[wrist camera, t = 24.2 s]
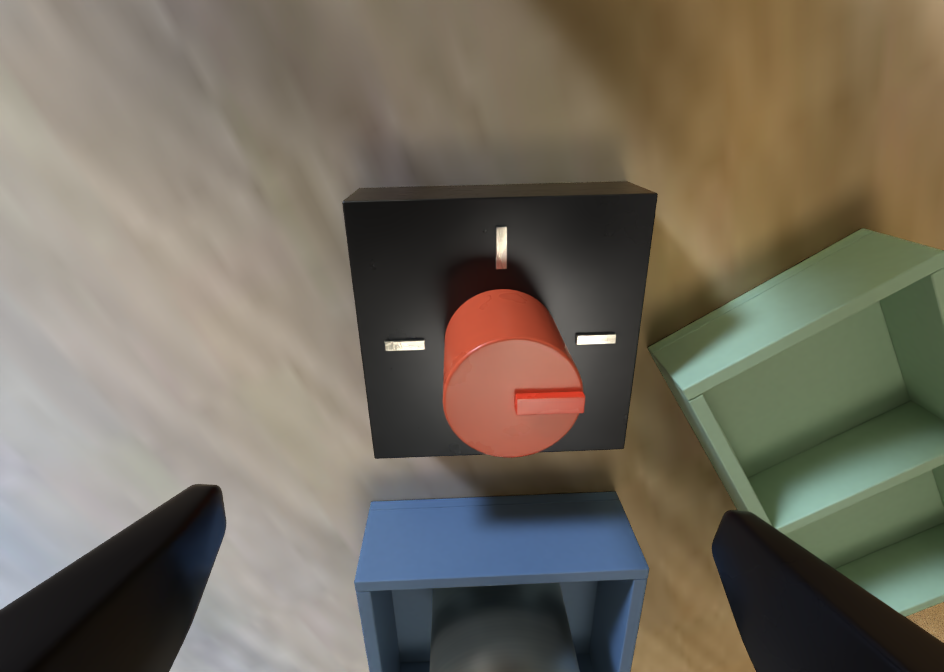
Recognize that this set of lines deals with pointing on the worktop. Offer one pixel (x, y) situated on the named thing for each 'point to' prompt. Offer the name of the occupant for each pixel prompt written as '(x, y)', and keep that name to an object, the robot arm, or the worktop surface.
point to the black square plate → (490, 268)
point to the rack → (831, 409)
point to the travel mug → (501, 629)
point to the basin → (500, 569)
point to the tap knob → (508, 376)
